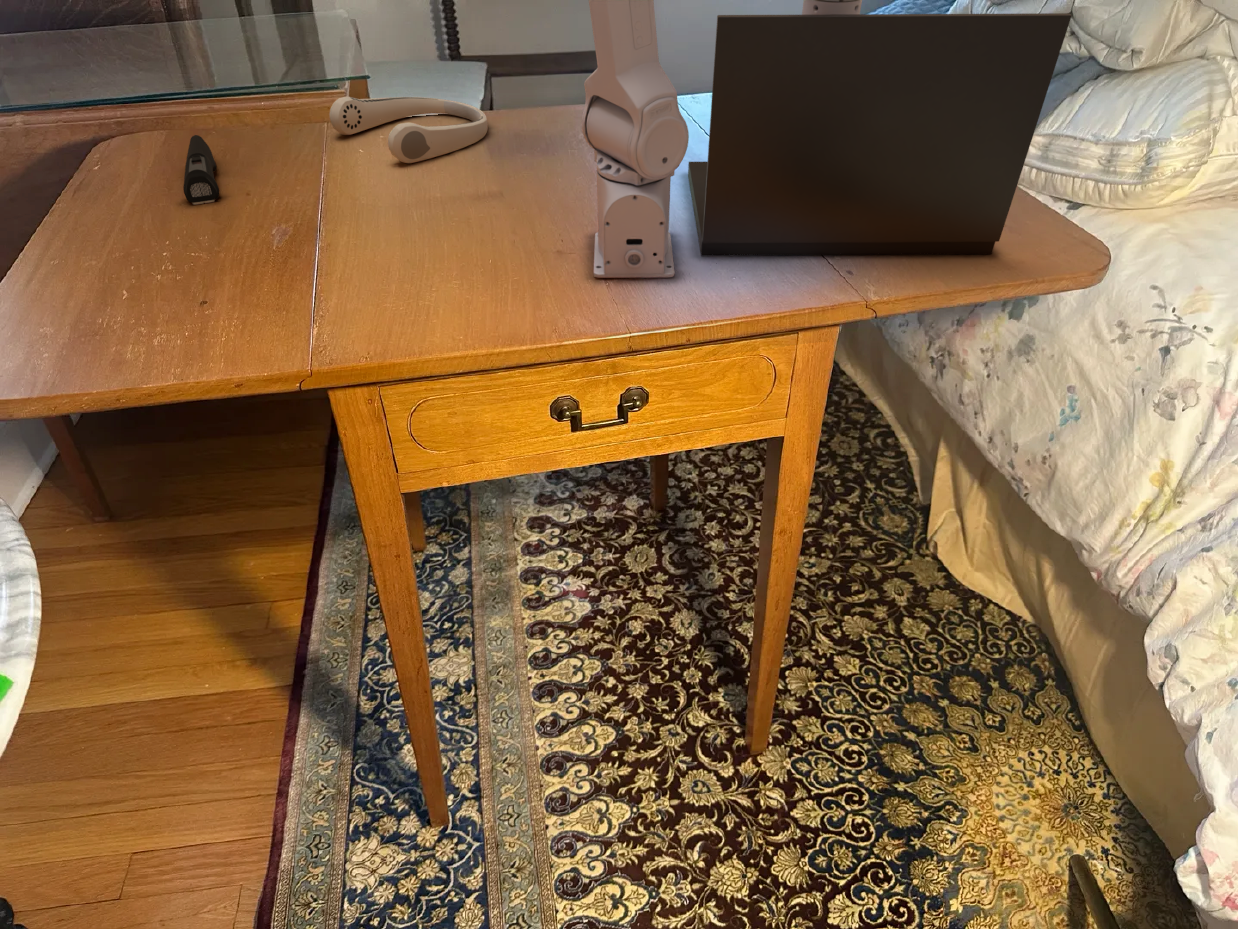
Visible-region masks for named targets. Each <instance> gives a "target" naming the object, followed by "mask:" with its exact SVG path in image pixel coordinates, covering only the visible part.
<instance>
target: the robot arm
mask: <svg viewBox="0 0 1238 929" xmlns="http://www.w3.org/2000/svg"><path fill="white" fill-rule="evenodd" d="M862 3H863V0H803V2H802V11H801V15H832V14H861V10H862ZM588 6H589V14H590V21H591V28H592V34H593V35H592V36H593V42H594V50H595V57H596V64H597V67H596V69H594V71H593V72H592V73H591V74H590V75H589V76H588V77H587V78H586V79H585V80H584V83H583V85H584V91H585V92H584V94H585V101H584V102H585V103H584V107H583V112H582V116H581V132H582V135H583V138H584V140H585V142H586V143H587V144H588V146H589V147H590V148H592V149H593V152H594V162H595V164H596V201H597V207H596V208H597V232H595V234H594V250H593V252H594V253H593V277H595V278H599V279H603V278H604V279H605V278H606V279H607V278H608V279H609V278H610V279H613V278H614V279H616V278H626V279H627V278H672V277H673V278H674V277H675V263H674V257H673V256H674V255H673V254H674V253H673V246H672V236H671V232H670V231H669V230H670V206H671V205H670V203H671V180H672V179H671V178H672V177H674V176H675V173H676V172H675V171H676V170H677V169H678V167H679V166H680V165H681V163H682V162H683V160H684V158H685V156H686V153H687V150H688V147H689V138H690V135H689V134H690V133H689V128H688V124H687V121H686V119H685V118H684V116H683V115H682V113H681V110H680V108H679V102H678V101H679V100H678V92H677V89H676V88H675V87H674V85H673V83H672V82H671V80H670V78H669V77H668V75H667V74H666V72H665V70H664V68H663V67H662V65H661V63H660V59H659V48H658V37H657V36H658V35H657V23H656V12H655V1H654V0H588Z"/></svg>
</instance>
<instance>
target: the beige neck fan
mask: <svg viewBox="0 0 1238 929" xmlns="http://www.w3.org/2000/svg"><path fill="white" fill-rule="evenodd" d="M427 114H428V115H430V114H439V115H441V114H442V115H450V116H451V115H452V116H456V117H460V118H464V119H467V120H469V121H470V122H463V123H457V124H446V125H420V124H418V123H415V122H402V123H398V124H396V125H395V126H393V128H392V129H391V131H390V132H389V133H388V137H387V147H388V150H389V152H390V153H391V155H392V156H393V157H394V158H396V159H397V160H398V161H400V162H401V163H404V164H412V163H418V162H423V161H425V160H429V159H433V158H435V157H440V156H443V155H446V154H449V153H453V152H455V151H458V150H462V149H464V148H467V147H468V146H471V145H472V144H475V143H477V142H479V141H480V140H481V139H483V138H485V136H486V135H487V133H488V130H489V129H488V127H489V125H488V123H489V122H488V118H487V115H486V114H485V112H484V111H482V110H481V109H479V108H478V107H475V106H473V105H471V104H468V103H466V102H465V103H464V102H462V101H461V102H460V101H457V100H456V101H455V100H449V99H442V98H435V97H423V96H394V97H374V98H360V99H359V98H356V97H352V96H348V95H347V96H342V97H339V98H337V99H335V101H333V103H332V105H331V107H330V109H329V121H330V124H331V126H332V128H333V129H334V130H335V131H336V132H337V133H339V134H340V135H343V136H351V135H353V134H357V133H360V132H363V131H365V130H368V129H372V128H375V127H377V126H380V125H383V124H387V123H390V122H393V121H395V120H396V121H397V120H401V119H404V118H408V117H413V116H419V115H427ZM380 119H381V120H380Z"/></svg>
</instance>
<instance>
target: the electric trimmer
mask: <svg viewBox="0 0 1238 929" xmlns="http://www.w3.org/2000/svg"><path fill="white" fill-rule="evenodd" d="M185 160H186V161H185V166H184V175H183V176H184V177H183V194H184V196H185V199H186V201H188V202H189V203H192V205H201V204H204V203H205V204H208V203H215V200H217V199H219V198H220V187H219V185H218V182H217V181H216V179H215V175H214V173H215V172H216V171H217V163H216V161H215V157H214V155H213V152H212V150H211V148H210V146H209V145H208V143H207V142H206V141H205V140H204V139H203V137H202V136H200V135H198V134H194V135H192V136H191V137H190V139H189V144H188V149H187V154H186V159H185Z"/></svg>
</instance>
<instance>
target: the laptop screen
mask: <svg viewBox="0 0 1238 929" xmlns="http://www.w3.org/2000/svg"><path fill="white" fill-rule="evenodd" d="M1071 19H1072V15H1071V14H1070V13H1068V12H1065V13H1064V12H1063V13H1062V12H1060V13H1056V12H1055V13H1054V12H1053V13H1051V12H1050V13H1049V12H1047V13H1043V12H1041V13H1037V12H1036V13H876V14H875V13H870V14H869V13H864V14H863V13H860V14H832V15H802V14H718V15H717V16H716V28H715V30H716V31H715V45H714V59H713V60H714V61H713V73H712V77H713V78H712V90H711V104H710V119H709V120H710V121H709V134H708V148H707V161H706V162H707V177H706V192H705V207H704V222H703V236H702V241H703V243H816V242H995V243H996V242H997V243H999V242H1000V241H1001V240H1000V239H1001V237H1002V234H1003V230H1004V227H1005V226H1006V221H1007V219H1008V215H1009V212H1010V208H1011V206H1012V203H1013V200H1014V196H1015V193H1016V190H1017V187H1018V184H1019V181H1020V178H1021V175H1022V171H1023V168H1024V165H1025V162H1026V159H1027V156H1028V153H1029V150H1030V146H1031V143H1032V141H1033V137H1034V135H1035V131H1036V128H1037V125H1038V122H1039V118H1040V115H1041V112H1042V110H1043V106H1044V103H1045V100H1046V97H1047V94H1048V90H1049V88H1050V84H1051V81H1052V78H1053V75H1054V72H1055V70H1056V67H1057V63H1058V60H1059V56H1060V53H1061V50H1062V47H1063V44H1064V41H1065V37H1066V35H1067V33H1068V32H1067V31H1068V29H1069V25H1070V22H1071Z"/></svg>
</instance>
